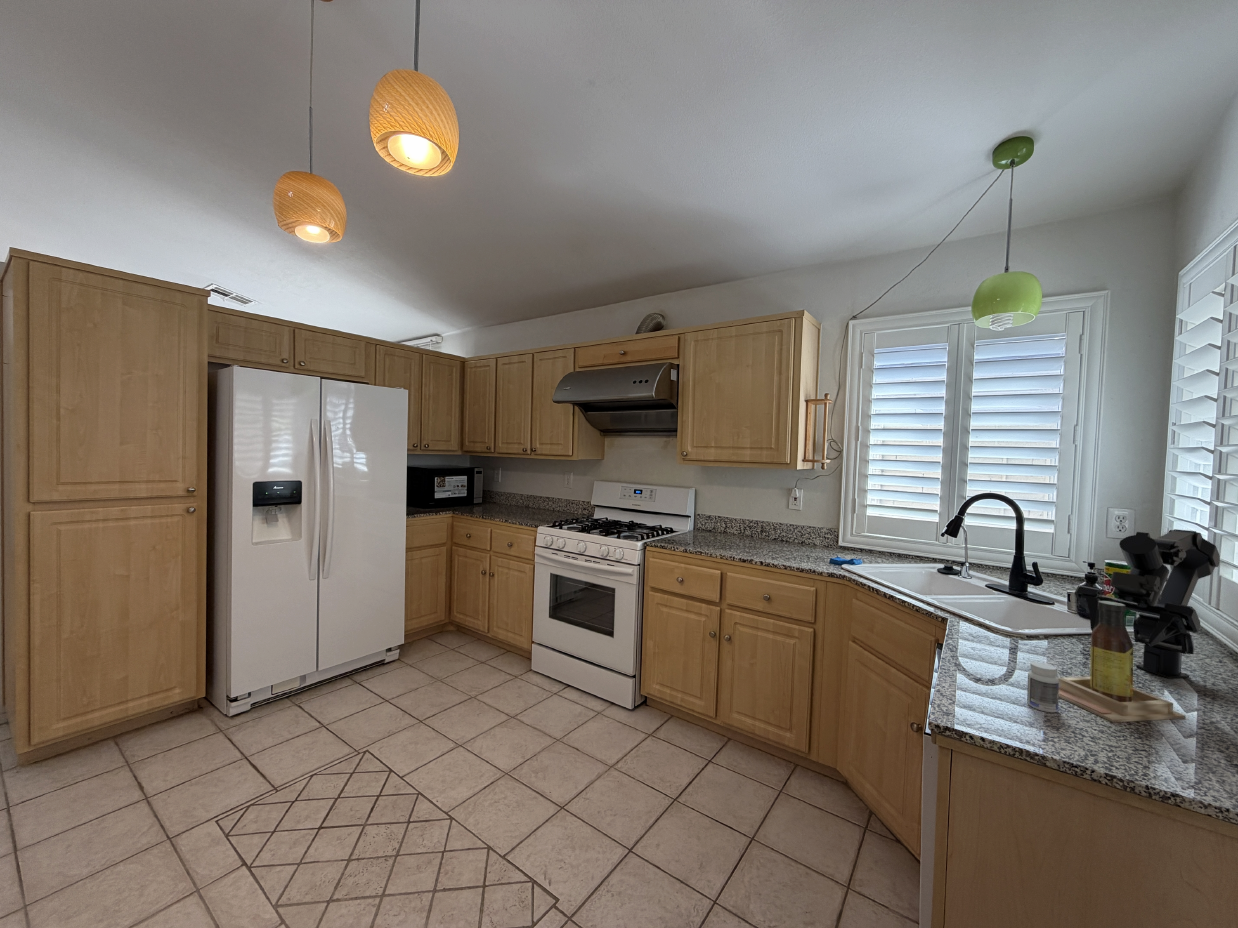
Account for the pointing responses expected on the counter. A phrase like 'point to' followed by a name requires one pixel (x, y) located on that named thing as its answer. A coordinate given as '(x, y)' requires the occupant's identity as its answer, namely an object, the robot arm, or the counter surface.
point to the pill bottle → (1043, 687)
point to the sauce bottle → (1112, 654)
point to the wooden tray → (1115, 702)
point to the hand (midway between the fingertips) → (1120, 637)
